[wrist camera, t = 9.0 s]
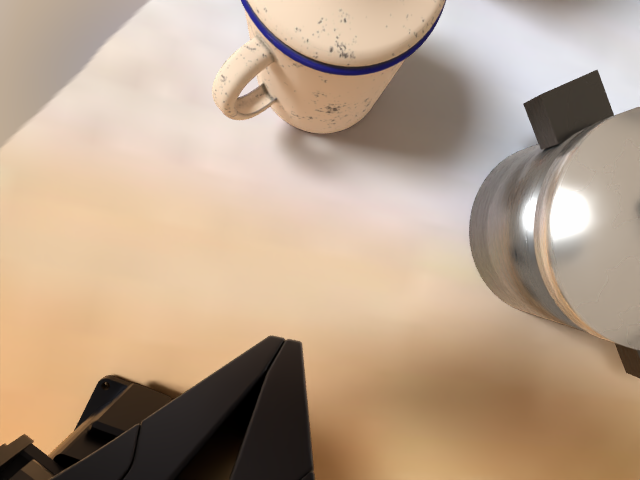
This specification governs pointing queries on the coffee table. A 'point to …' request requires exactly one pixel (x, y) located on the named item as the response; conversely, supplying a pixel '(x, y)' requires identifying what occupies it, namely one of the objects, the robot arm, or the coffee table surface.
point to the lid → (594, 229)
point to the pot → (533, 202)
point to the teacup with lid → (321, 58)
